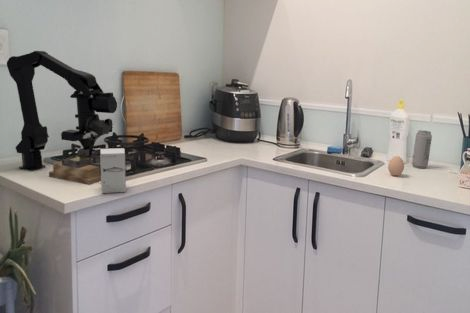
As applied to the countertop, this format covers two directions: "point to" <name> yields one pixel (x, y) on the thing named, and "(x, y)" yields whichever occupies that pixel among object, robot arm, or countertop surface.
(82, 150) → the yellow and black block
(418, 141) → the energy drink can
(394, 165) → the egg
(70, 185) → the countertop surface
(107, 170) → the supplement box
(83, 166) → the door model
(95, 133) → the robot arm
